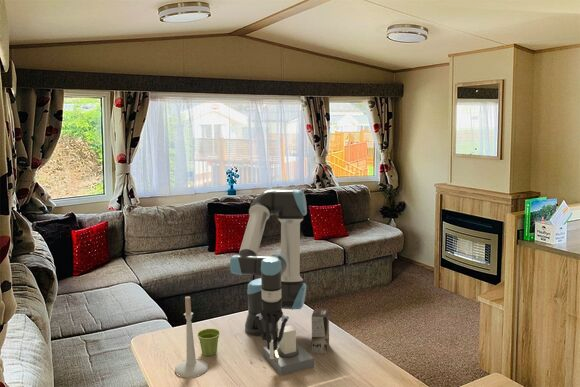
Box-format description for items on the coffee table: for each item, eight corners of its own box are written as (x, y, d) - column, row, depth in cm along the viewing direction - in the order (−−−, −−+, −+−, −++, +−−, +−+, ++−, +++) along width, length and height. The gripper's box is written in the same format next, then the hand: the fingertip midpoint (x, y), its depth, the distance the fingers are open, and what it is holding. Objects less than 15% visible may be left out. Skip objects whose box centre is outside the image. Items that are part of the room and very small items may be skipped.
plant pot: (224, 349, 207) (223, 329, 206) (214, 359, 198) (213, 339, 197) (205, 346, 210) (204, 327, 209) (194, 356, 201) (192, 336, 200)
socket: (263, 356, 200) (263, 344, 200) (294, 348, 206) (294, 337, 205) (281, 376, 184) (280, 363, 183) (314, 368, 190) (313, 355, 189)
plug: (274, 358, 197) (273, 326, 195) (293, 353, 201) (292, 322, 199) (282, 367, 190) (281, 335, 188) (302, 363, 193) (301, 330, 191)
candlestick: (188, 358, 200) (184, 288, 195) (214, 364, 194) (211, 292, 190) (167, 373, 188) (163, 299, 184) (195, 380, 183) (191, 304, 178)
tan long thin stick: (269, 343, 200) (269, 340, 200) (274, 342, 200) (274, 339, 200) (274, 361, 185) (274, 357, 185) (280, 360, 186) (280, 357, 185)
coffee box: (327, 354, 201) (326, 317, 198) (311, 353, 202) (310, 316, 200) (329, 344, 210) (329, 308, 207) (314, 343, 211) (314, 307, 208)
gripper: (252, 301, 182) (253, 360, 186) (285, 304, 179) (286, 363, 183) (258, 294, 189) (259, 350, 193) (290, 296, 186) (291, 354, 190)
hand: (272, 357), depth 188 cm, fingers closed
